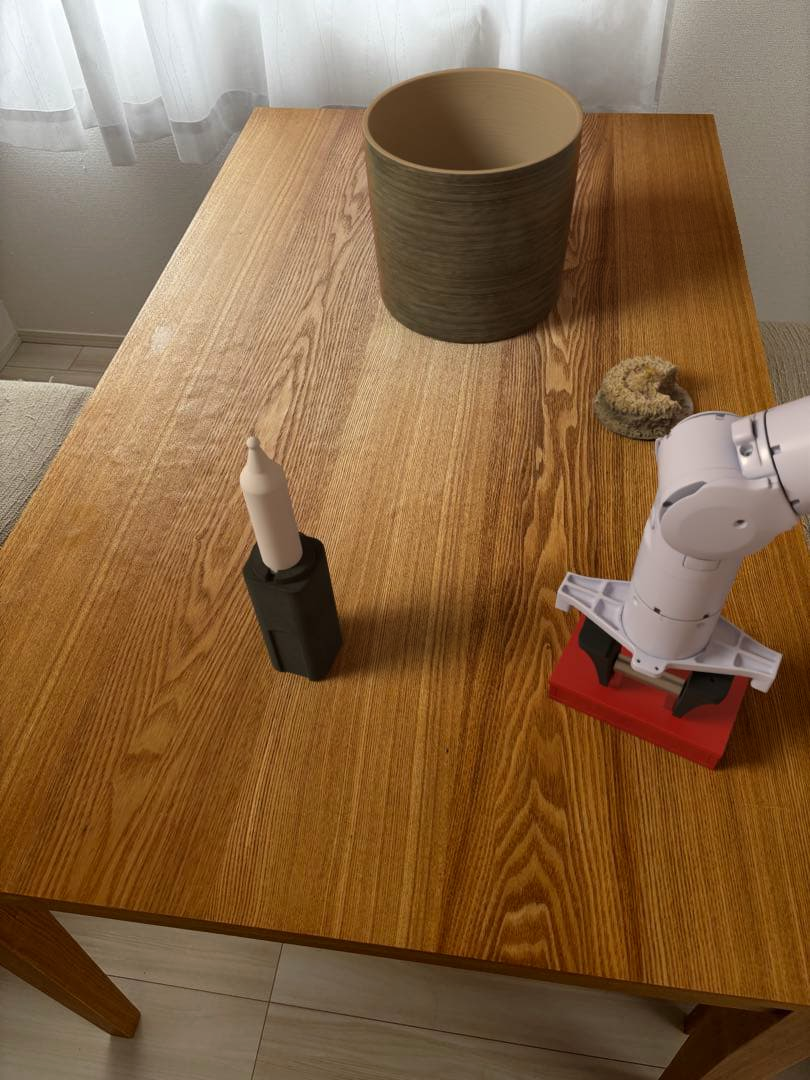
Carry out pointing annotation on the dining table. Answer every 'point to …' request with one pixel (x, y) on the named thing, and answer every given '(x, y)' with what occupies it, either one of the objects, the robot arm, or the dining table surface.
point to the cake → (642, 398)
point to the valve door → (649, 697)
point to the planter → (472, 199)
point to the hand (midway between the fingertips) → (643, 690)
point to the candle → (287, 575)
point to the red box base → (633, 728)
